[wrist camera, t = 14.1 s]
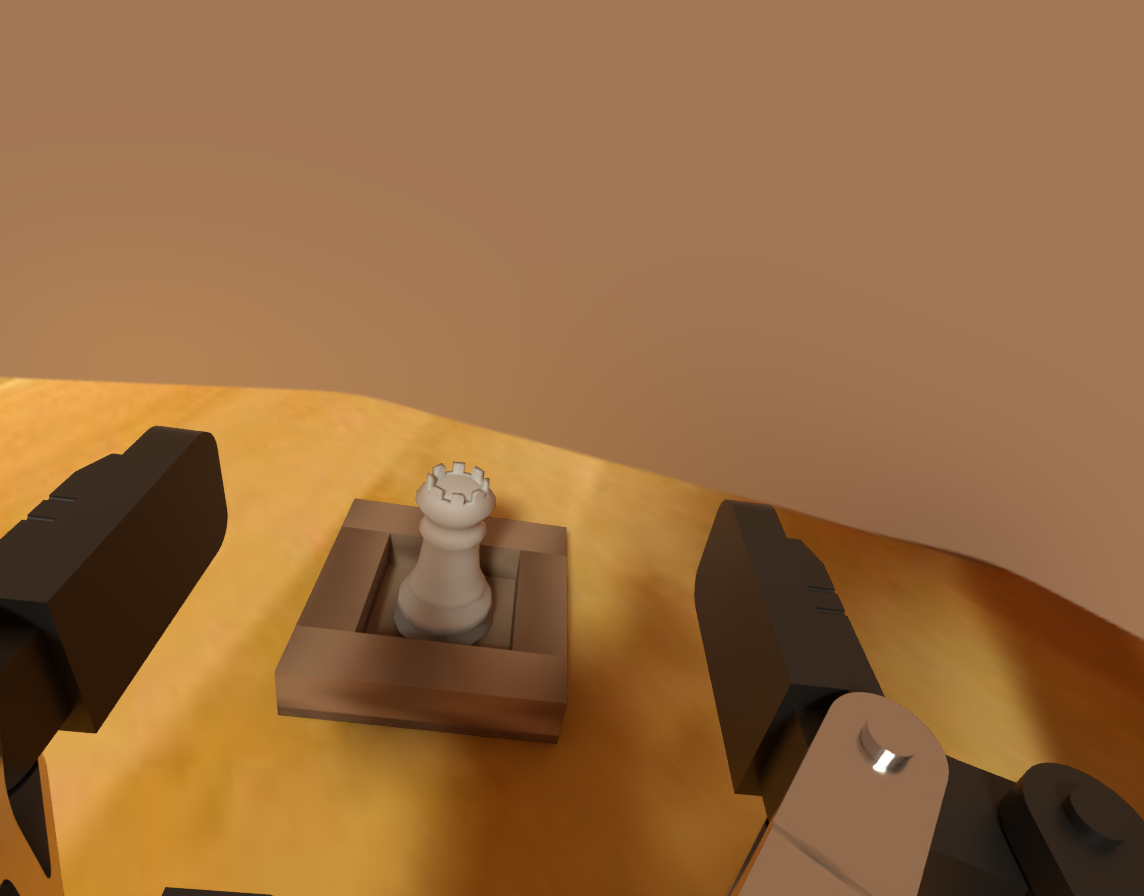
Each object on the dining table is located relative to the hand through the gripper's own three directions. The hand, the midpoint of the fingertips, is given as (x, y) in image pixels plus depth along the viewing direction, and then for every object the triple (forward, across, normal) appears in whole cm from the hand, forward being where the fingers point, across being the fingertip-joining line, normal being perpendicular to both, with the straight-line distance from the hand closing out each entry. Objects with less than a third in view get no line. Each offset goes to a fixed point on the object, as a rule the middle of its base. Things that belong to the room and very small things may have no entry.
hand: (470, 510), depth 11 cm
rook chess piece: (+13, +2, +17) cm, 22 cm away
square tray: (+13, +2, +18) cm, 22 cm away
